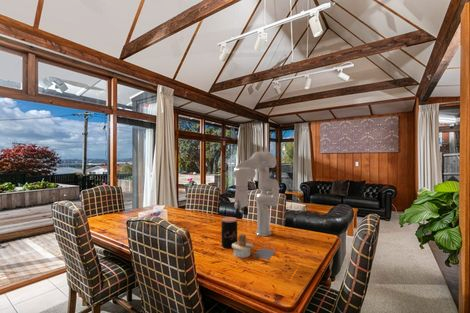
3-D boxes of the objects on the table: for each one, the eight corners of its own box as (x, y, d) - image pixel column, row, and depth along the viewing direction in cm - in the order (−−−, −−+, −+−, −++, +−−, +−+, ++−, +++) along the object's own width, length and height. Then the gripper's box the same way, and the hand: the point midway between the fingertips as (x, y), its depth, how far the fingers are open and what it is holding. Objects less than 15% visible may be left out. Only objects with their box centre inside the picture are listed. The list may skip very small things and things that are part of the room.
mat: (261, 248, 147) (261, 247, 147) (276, 251, 142) (276, 250, 142) (252, 257, 135) (252, 256, 135) (268, 260, 130) (268, 259, 130)
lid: (238, 241, 147) (238, 230, 147) (256, 245, 141) (256, 233, 141) (227, 248, 136) (227, 236, 136) (247, 252, 129) (247, 240, 129)
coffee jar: (223, 249, 146) (223, 221, 147) (220, 243, 157) (219, 217, 157) (239, 247, 149) (239, 220, 149) (235, 242, 159) (234, 216, 160)
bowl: (238, 250, 145) (238, 242, 145) (252, 253, 140) (252, 245, 140) (230, 256, 136) (230, 247, 136) (245, 259, 132) (245, 251, 132)
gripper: (242, 186, 149) (242, 212, 148) (229, 189, 133) (229, 219, 133) (253, 187, 145) (253, 214, 145) (240, 190, 130) (241, 220, 130)
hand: (242, 216), depth 139 cm, fingers open, 9 cm apart
